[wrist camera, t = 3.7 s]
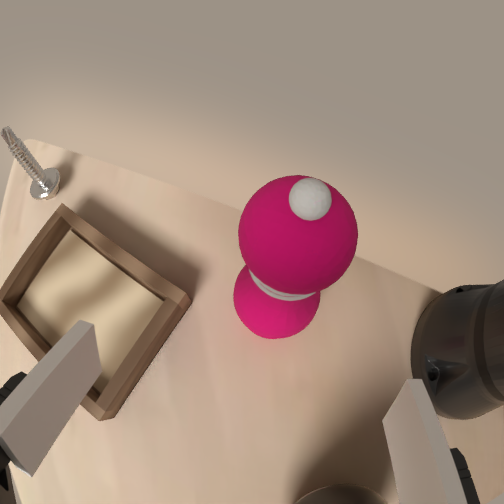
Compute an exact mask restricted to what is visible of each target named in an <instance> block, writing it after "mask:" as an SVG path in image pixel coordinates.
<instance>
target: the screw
mask: <svg viewBox="0 0 504 504" xmlns="http://www.w3.org/2000/svg"><path fill="white" fill-rule="evenodd" d="M1 136H2V137H3V139H4V140H5V141H6V142H7V144H8V145H9V146H8V148H10V152H13V155H15V158H17V161H20V162H19V163H20V164H22V167H24V170H26V172H27V173H28V175H29V176H31V178H33V181H32V184H31V188H30V193H31V195H32V197H33V198H34V199H36V200H42V199H46V200H48V199H50V198H53V197H55V195H56V194H57V192H58V190H59V186H58V184H59V182H60V173H59V171H58V170H57V169H55V168H47V169H45V170H43V169H42V168H41V166H40V165H39V164H38V162H37V161H36V160H35V158H34V157H33V156H32V154H30V151H28V148H26V146H25V145H24V143H23V142H22V141H21V139H19V138H17V137H16V136H15V134H14V133H13V131H12V130H11V129H10V127H9V126H7V127H5V128H3V129H2V132H1Z"/></svg>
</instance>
